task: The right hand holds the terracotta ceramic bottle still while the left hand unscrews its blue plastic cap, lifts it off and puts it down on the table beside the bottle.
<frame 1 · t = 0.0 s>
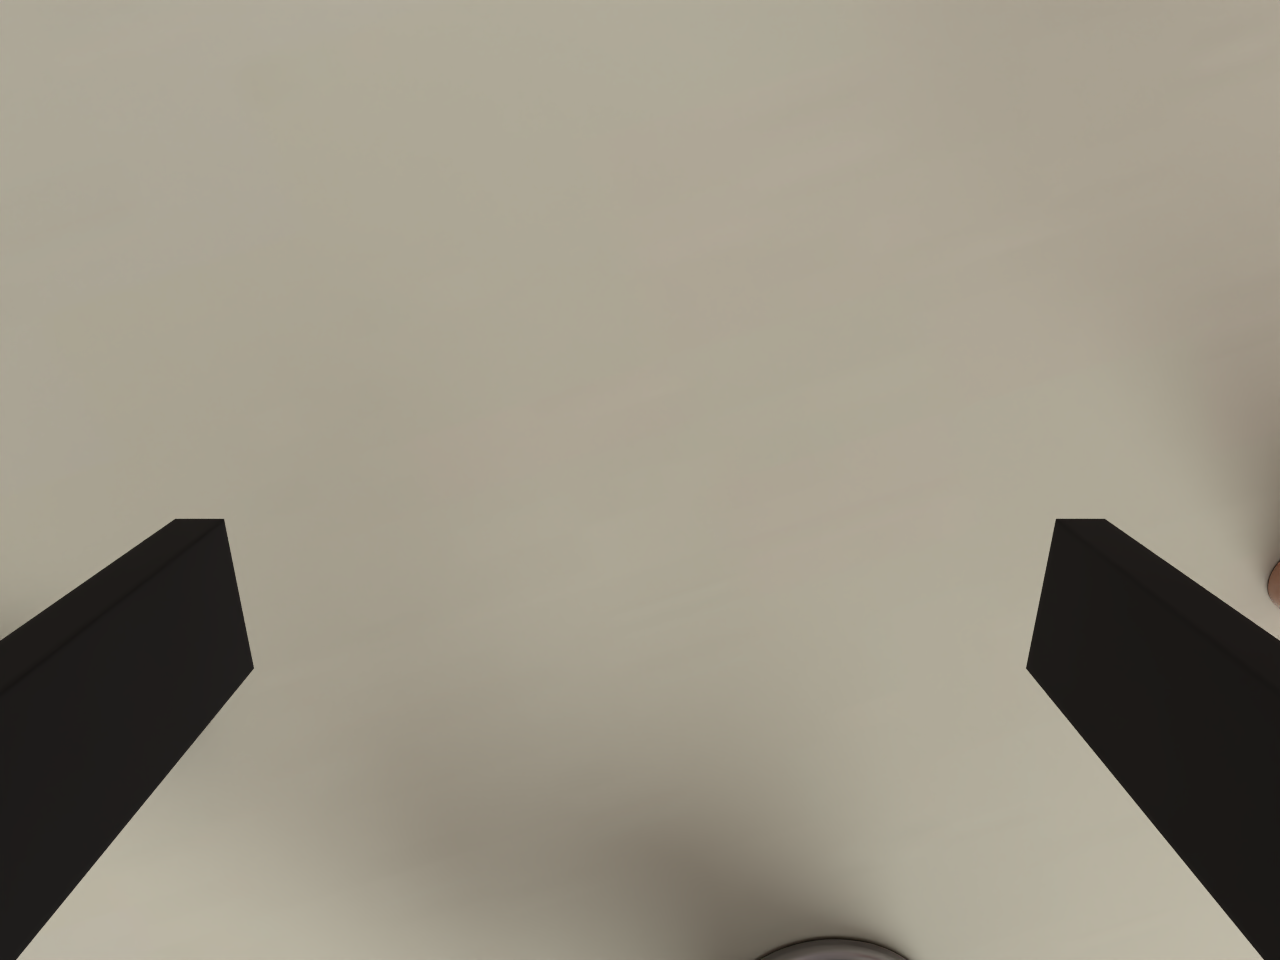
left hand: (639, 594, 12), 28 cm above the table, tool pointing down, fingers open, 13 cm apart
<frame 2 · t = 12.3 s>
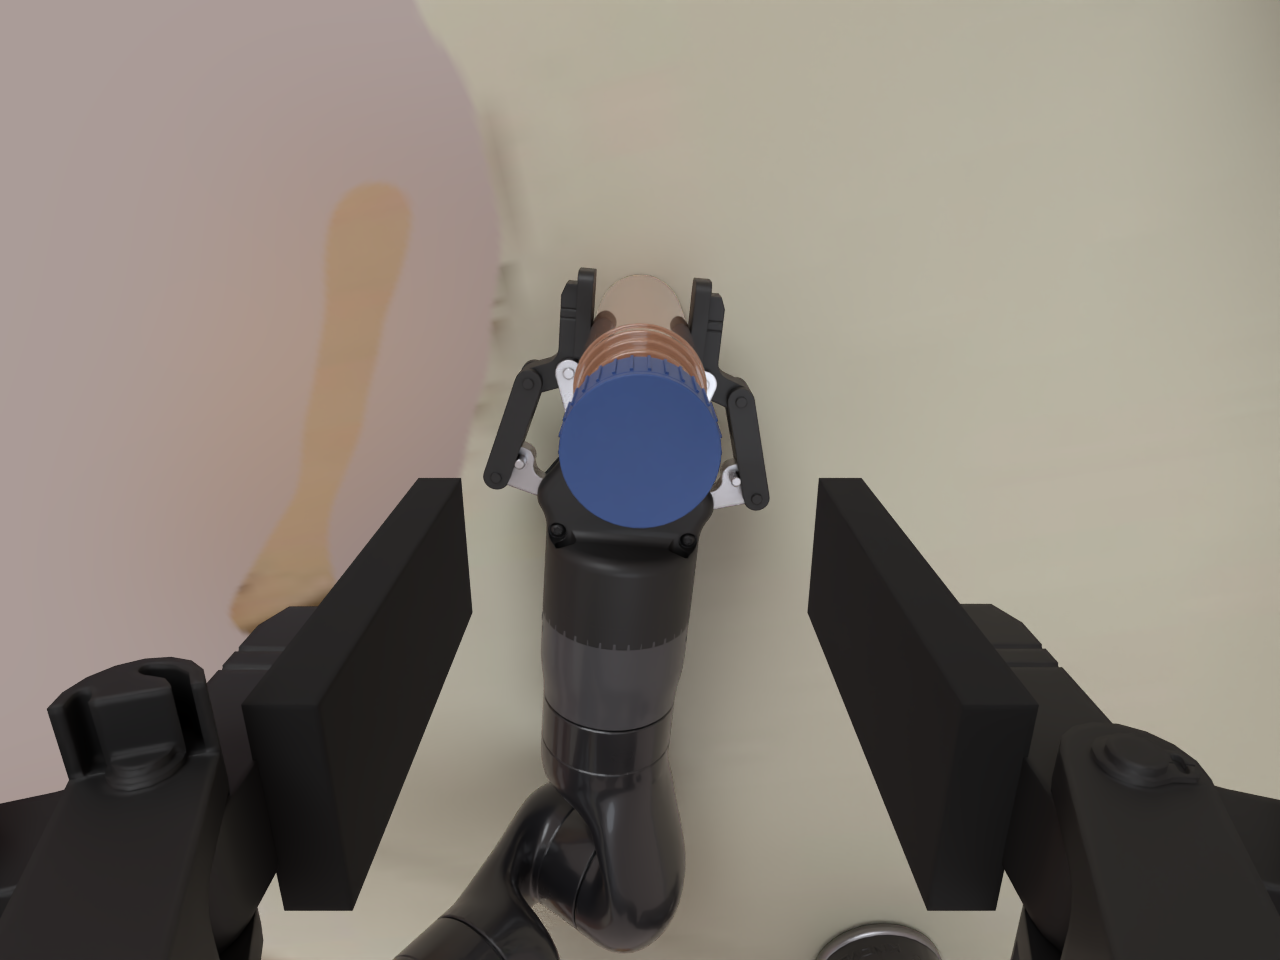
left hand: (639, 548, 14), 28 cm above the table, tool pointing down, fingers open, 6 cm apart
right hand: (644, 276, 34), fingers closed on bottle, 4 cm apart
cap: (640, 450, 20), point 23 cm above the table, screwed on, not yet turned
bottle: (639, 317, 41), on the table, touching right hand
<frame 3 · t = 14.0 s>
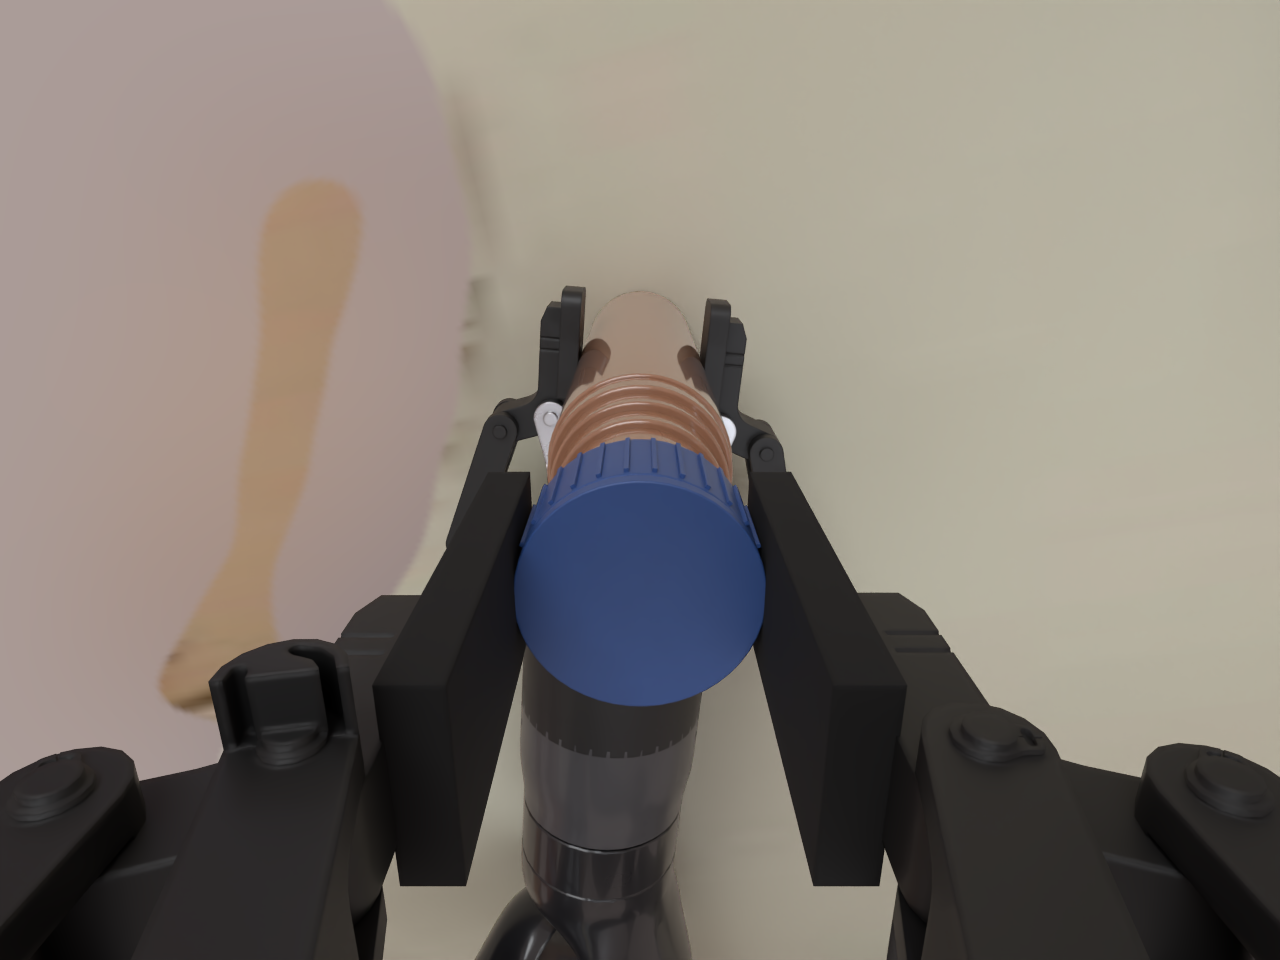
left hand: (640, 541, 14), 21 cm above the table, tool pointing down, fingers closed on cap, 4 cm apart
cap: (639, 591, 13), point 23 cm above the table, screwed on, not yet turned, touching left hand
bottle: (640, 342, 34), on the table, touching right hand
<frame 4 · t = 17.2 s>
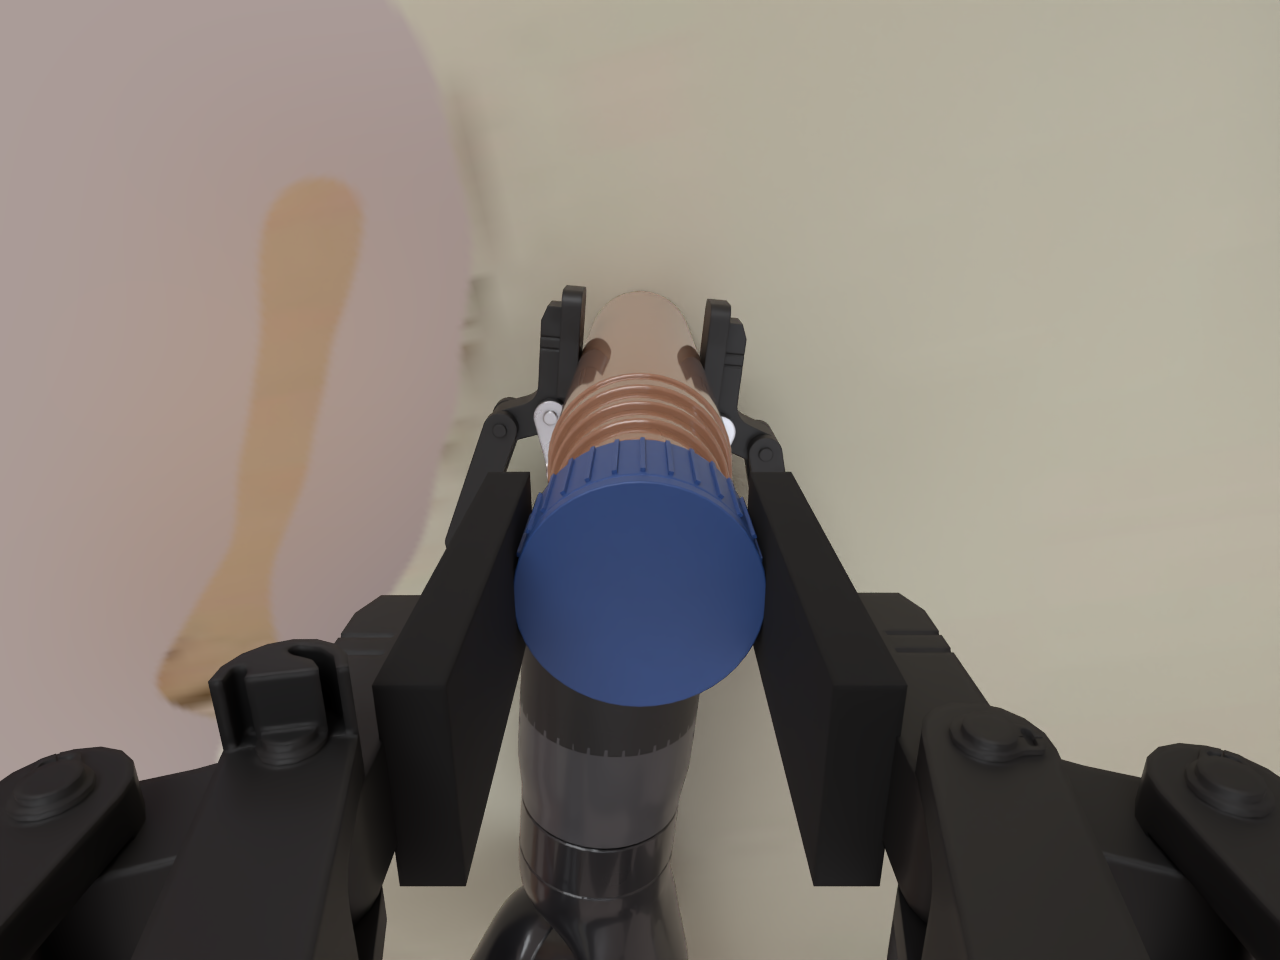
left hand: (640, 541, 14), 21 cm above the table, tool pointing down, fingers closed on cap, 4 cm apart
cap: (639, 591, 13), point 23 cm above the table, turned 80° so far, risen 0.1 cm, still on its thread, touching left hand
bottle: (639, 342, 34), on the table, touching right hand
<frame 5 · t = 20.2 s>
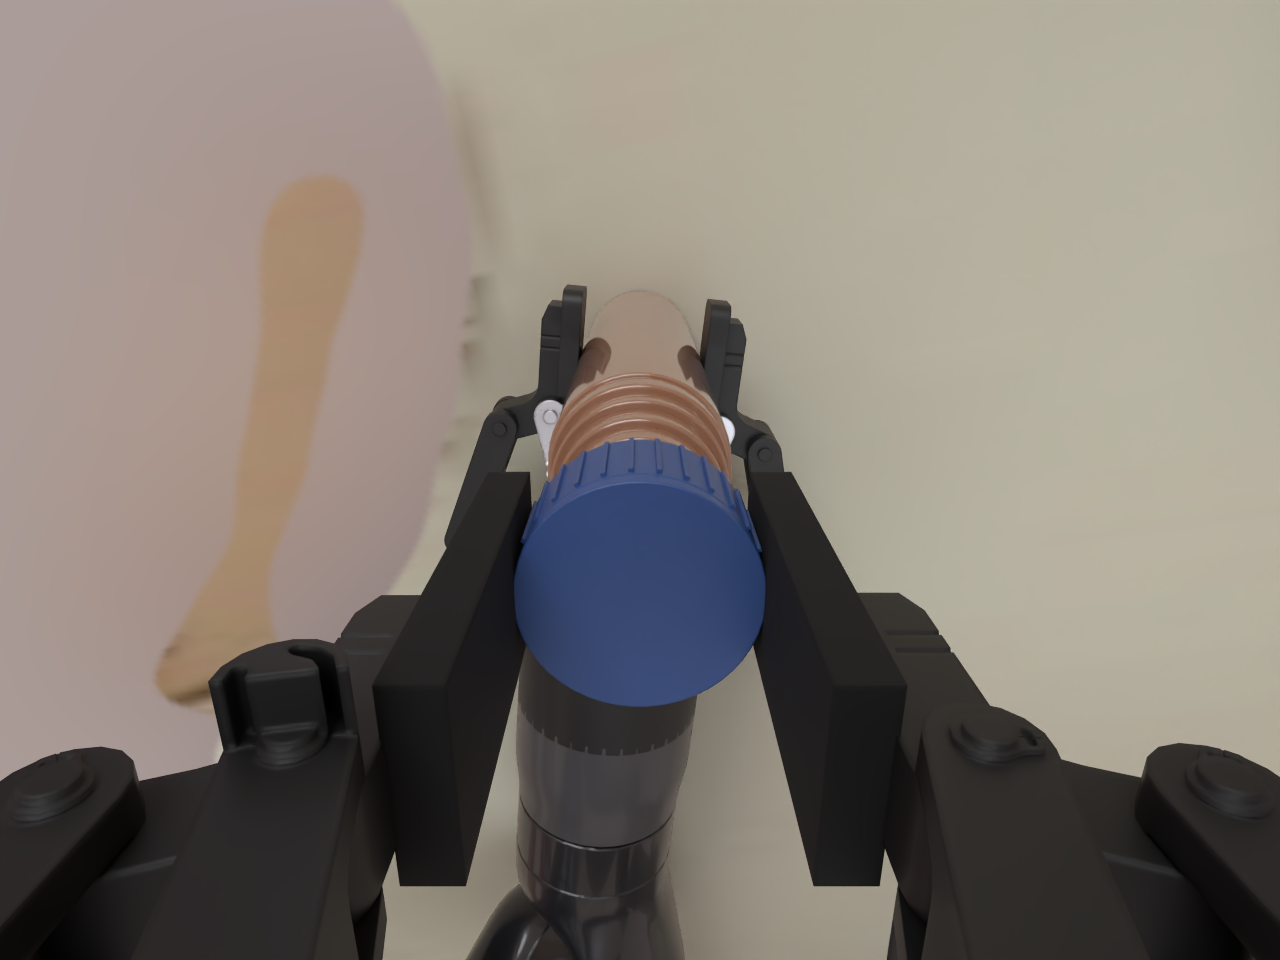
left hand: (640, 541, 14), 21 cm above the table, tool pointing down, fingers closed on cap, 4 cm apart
cap: (639, 591, 13), point 23 cm above the table, turned 160° so far, risen 0.1 cm, still on its thread, touching left hand
bottle: (639, 342, 34), on the table, touching right hand
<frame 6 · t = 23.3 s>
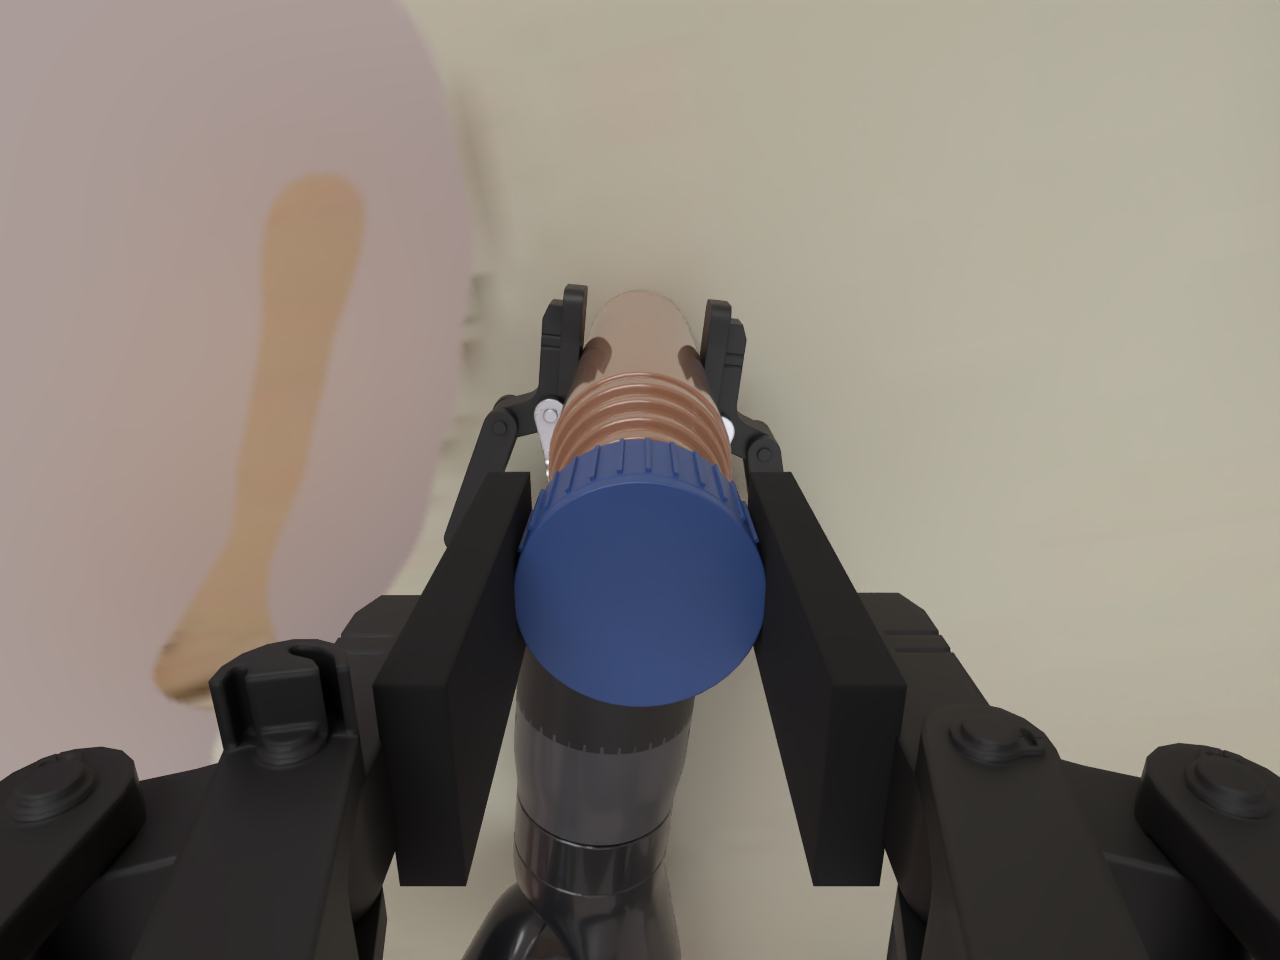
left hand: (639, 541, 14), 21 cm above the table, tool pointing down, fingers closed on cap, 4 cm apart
cap: (640, 592, 13), point 23 cm above the table, turned 240° so far, risen 0.2 cm, still on its thread, touching left hand
bottle: (640, 342, 34), on the table, touching right hand
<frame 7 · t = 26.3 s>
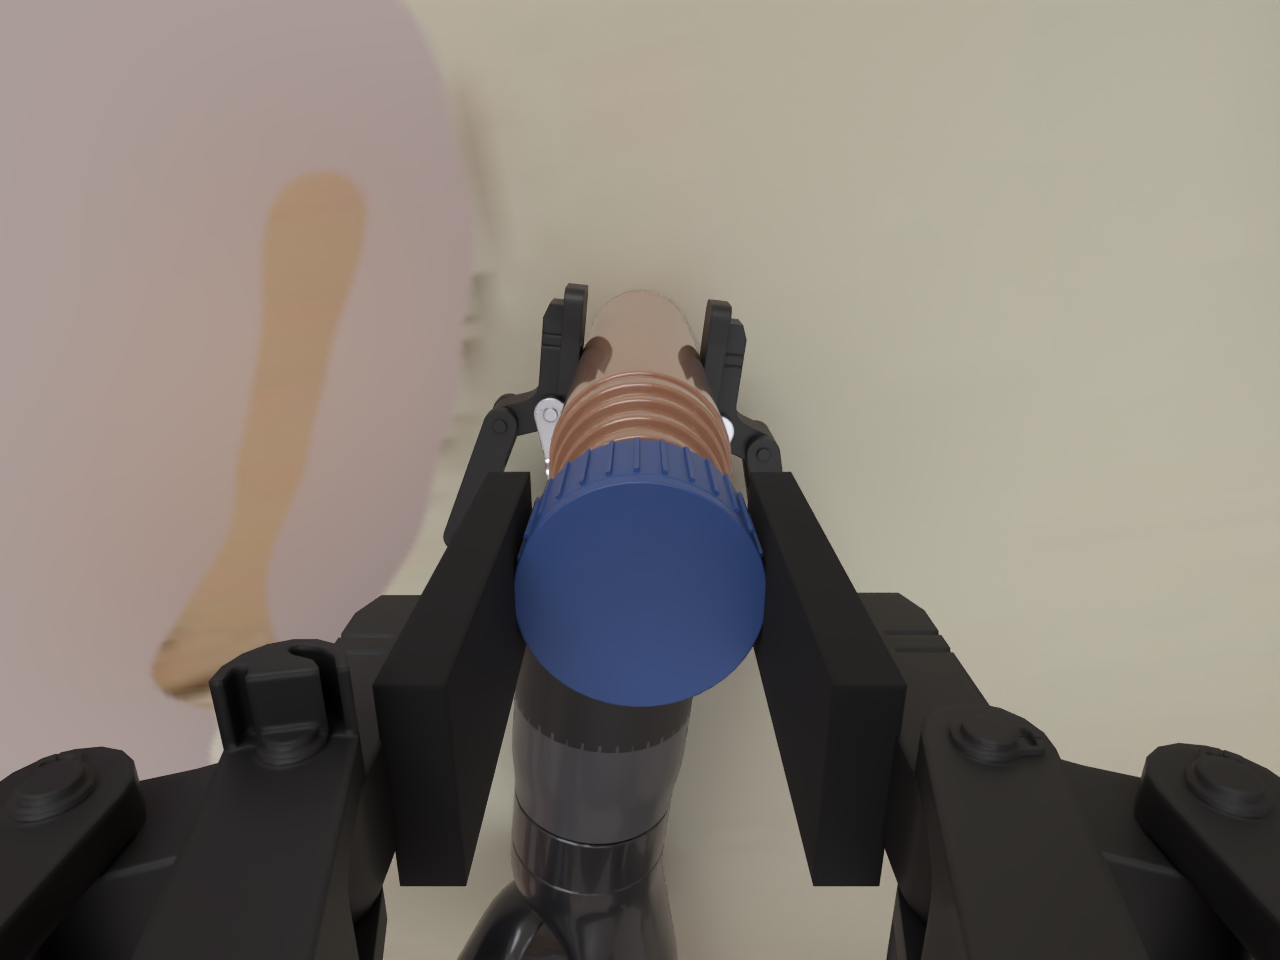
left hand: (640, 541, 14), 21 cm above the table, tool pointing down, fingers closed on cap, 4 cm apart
cap: (640, 591, 13), point 23 cm above the table, turned 320° so far, risen 0.3 cm, still on its thread, touching left hand
bottle: (640, 341, 34), on the table, touching right hand
when the left hand's fingers open (1 cm above the table, at t = 33.1 s): cap drops 1 cm, point 2 cm above the table.
when the right hand's fingers open (6 cm above the table, at t = 34.4 s): bottle stays where it is, on the table.
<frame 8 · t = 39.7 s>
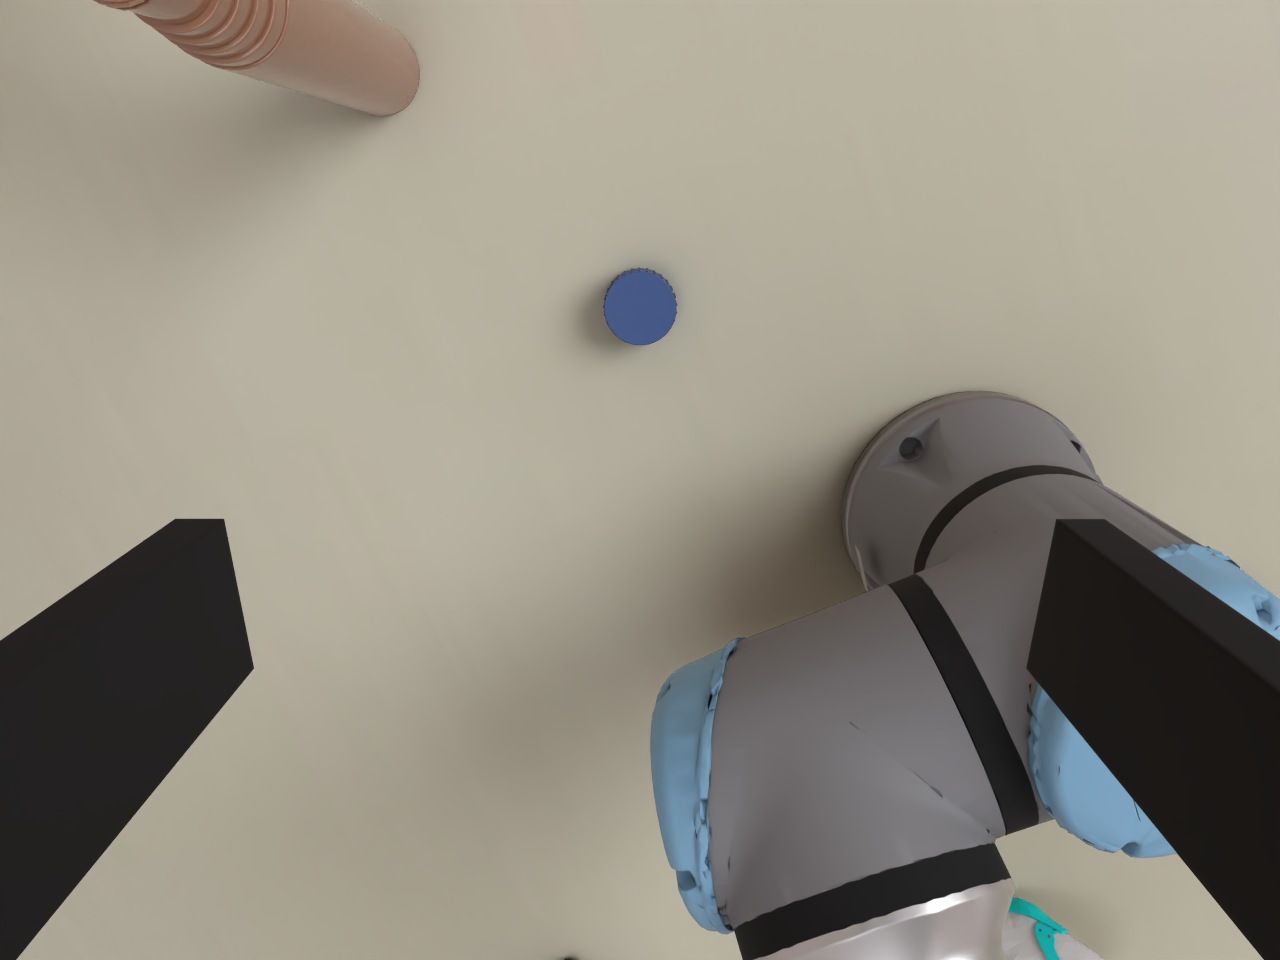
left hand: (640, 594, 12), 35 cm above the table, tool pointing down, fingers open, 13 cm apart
cap: (640, 308, 44), point 2 cm above the table, off its thread
bottle: (378, 70, 41), on the table
anatomical model: (1027, 950, 63), on the table
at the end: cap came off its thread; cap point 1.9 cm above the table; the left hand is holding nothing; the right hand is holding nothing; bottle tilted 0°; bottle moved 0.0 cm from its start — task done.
